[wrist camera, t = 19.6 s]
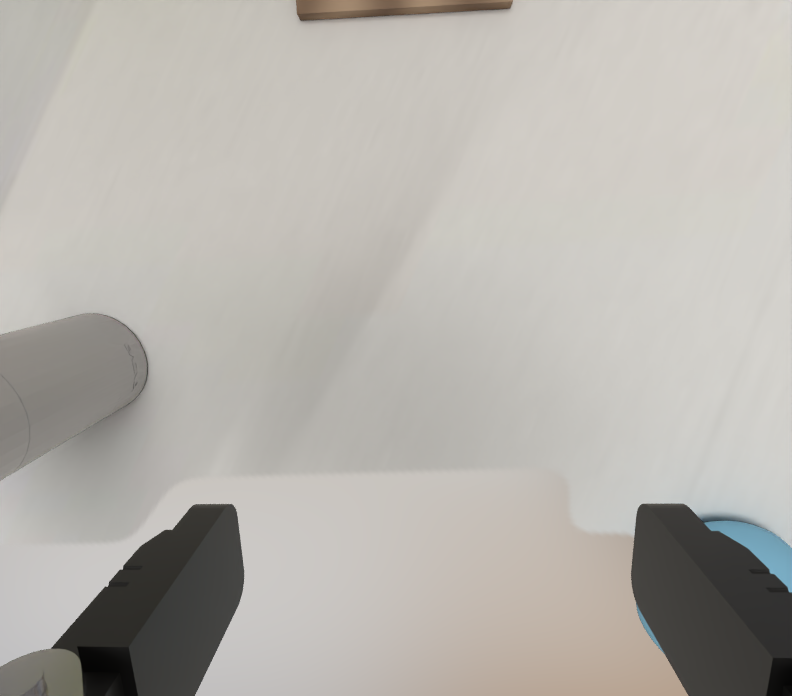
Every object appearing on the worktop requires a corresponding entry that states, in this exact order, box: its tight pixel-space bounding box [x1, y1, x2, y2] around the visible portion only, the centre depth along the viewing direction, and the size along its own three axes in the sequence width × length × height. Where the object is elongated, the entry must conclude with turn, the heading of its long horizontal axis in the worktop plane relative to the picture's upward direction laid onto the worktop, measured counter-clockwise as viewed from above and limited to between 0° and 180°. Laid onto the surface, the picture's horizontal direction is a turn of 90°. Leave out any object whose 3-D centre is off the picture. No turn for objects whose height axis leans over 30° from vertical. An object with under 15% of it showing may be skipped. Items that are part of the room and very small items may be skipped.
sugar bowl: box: [636, 521, 792, 653], centre depth 43 cm, size 15×15×12 cm
